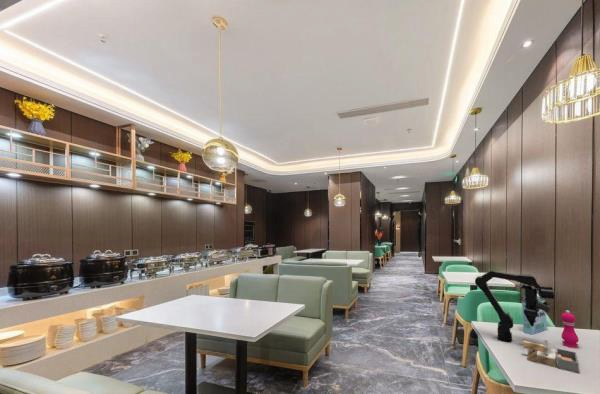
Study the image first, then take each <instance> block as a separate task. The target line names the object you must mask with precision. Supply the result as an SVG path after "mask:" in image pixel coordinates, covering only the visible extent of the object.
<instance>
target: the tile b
mask: <svg viewBox="0 0 600 394" xmlns="http://www.w3.org/2000/svg"><path fill="white" fill-rule="evenodd" d="M561 359H563V360H568V361H572V359H571V358H566V357H562V356H561ZM572 362H573V361H572Z"/></svg>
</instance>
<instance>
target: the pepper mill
mask: <svg viewBox="0 0 600 394" xmlns="http://www.w3.org/2000/svg"><path fill="white" fill-rule="evenodd" d="M560 317H561V319H562V324H563V331H562V333H561V339H562V344H563V346H565V347H568V348H571V349H579V344H578V342H579V337H578V335H577V333H576V330H575V324H576V323H575V321H576V317H575V315H574V314H572V313H571V312H570V310H567V309H566V310H565V312H562V313H561V315H560Z"/></svg>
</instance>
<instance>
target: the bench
mask: <svg viewBox="0 0 600 394" xmlns="http://www.w3.org/2000/svg"><path fill="white" fill-rule="evenodd" d="M527 361H528V362H533V363H536V364H537V363H538V364H541V365H545V366H550V367H553V368H557V360H556V349H555V348H551V347H548V356H545V352H541V351H536V350H532V349H528V352H527Z"/></svg>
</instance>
